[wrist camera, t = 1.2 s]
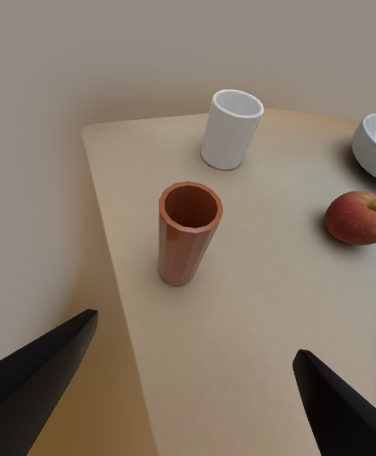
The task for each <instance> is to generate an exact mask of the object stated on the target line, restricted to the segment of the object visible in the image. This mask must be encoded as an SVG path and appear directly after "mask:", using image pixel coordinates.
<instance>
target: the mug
mask: <svg viewBox="0 0 376 456" xmlns="http://www.w3.org/2000/svg"><path fill="white" fill-rule="evenodd" d="M263 112H264V108H263V105H262V103H261V102H260V101H259V100H258V99H257V98H255V97H254V96H252V95H250V94H248V93H245V92H242V91H237V90H221V91H219V92H217V93H215V95H214V96H213V98H212V103H211V107H210V112H209V116H208V121H207V125H206V130H205V135H204V139H203V144H202V148H201V155H202V158H203V159H204V160H205V162H206V163H208V164H209V165H211V166H212V167H215V168H217V169H222V170H231V169H234V168H236V167H238V166H239V165H240V164H241V161H242V159H243V157H244V155H245V152H246V150H247V148H248V146H249V143H250V141H251V139H252V137H253V134H254V132H255V130H256V128H257V125H258V123H259V121H260V119H261V116H262V114H263Z"/></svg>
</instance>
